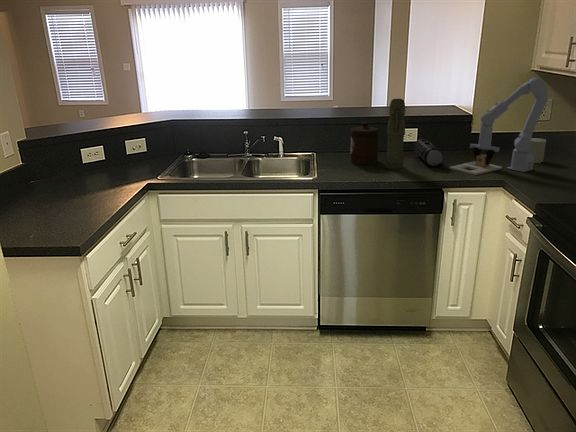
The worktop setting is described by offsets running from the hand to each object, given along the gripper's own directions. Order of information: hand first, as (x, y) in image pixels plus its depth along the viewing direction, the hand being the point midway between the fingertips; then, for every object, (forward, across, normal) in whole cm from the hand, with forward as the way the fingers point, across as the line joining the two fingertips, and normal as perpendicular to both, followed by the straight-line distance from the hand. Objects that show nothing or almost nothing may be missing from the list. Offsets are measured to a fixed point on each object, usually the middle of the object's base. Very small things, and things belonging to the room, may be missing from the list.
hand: (482, 163), depth 244 cm
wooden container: (+2, +53, +30) cm, 61 cm away
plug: (+2, 0, 0) cm, 2 cm away
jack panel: (+2, +1, +5) cm, 5 cm away
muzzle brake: (+2, +27, +8) cm, 28 cm away
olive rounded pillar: (+2, +33, +30) cm, 44 cm away
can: (+2, -13, -29) cm, 32 cm away
